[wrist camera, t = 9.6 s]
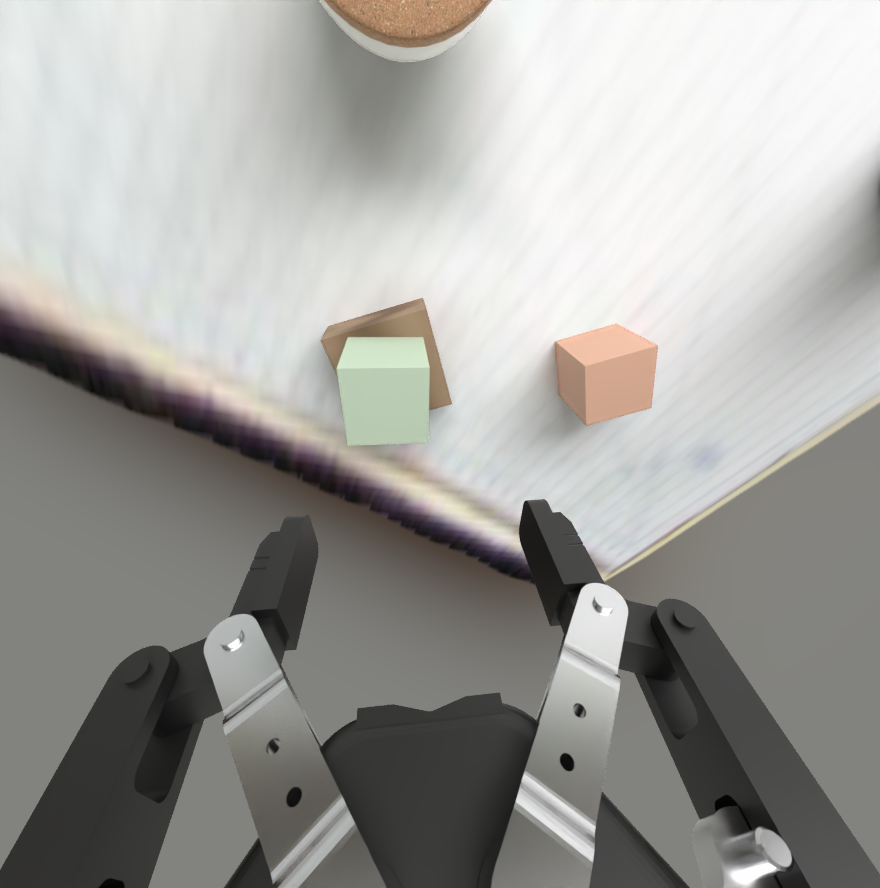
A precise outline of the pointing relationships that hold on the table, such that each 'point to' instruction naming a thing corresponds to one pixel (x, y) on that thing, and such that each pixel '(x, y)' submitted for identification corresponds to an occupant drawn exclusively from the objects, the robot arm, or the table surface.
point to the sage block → (384, 390)
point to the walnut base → (393, 323)
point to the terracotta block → (606, 373)
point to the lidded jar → (406, 25)
